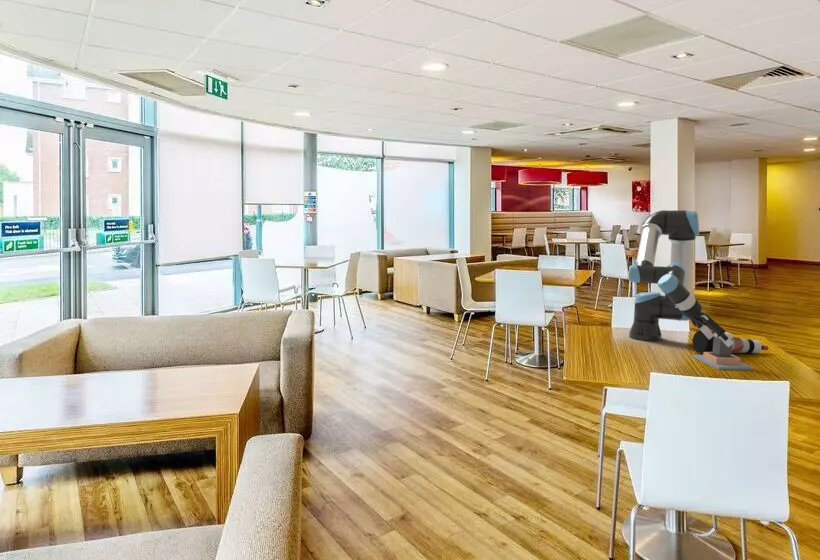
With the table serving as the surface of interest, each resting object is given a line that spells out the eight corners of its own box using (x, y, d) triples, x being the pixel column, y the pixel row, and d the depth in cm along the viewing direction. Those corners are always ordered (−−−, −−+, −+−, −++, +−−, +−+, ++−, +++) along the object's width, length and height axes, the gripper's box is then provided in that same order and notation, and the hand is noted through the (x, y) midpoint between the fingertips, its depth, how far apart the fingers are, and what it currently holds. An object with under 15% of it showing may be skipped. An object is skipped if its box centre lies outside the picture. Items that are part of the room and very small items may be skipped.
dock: (692, 356, 242) (692, 349, 242) (723, 357, 242) (724, 349, 242) (718, 369, 222) (718, 361, 222) (752, 369, 222) (753, 361, 222)
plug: (712, 359, 235) (714, 331, 233) (723, 359, 235) (725, 331, 233) (718, 362, 230) (721, 334, 228) (730, 362, 230) (732, 334, 228)
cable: (767, 363, 250) (779, 346, 244) (700, 357, 245) (710, 340, 239) (754, 349, 258) (765, 332, 253) (689, 342, 253) (699, 325, 248)
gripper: (666, 306, 241) (697, 340, 243) (697, 317, 216) (732, 354, 219) (679, 294, 241) (710, 328, 243) (712, 303, 216) (746, 341, 218)
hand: (720, 341), depth 231 cm, fingers open, 13 cm apart
